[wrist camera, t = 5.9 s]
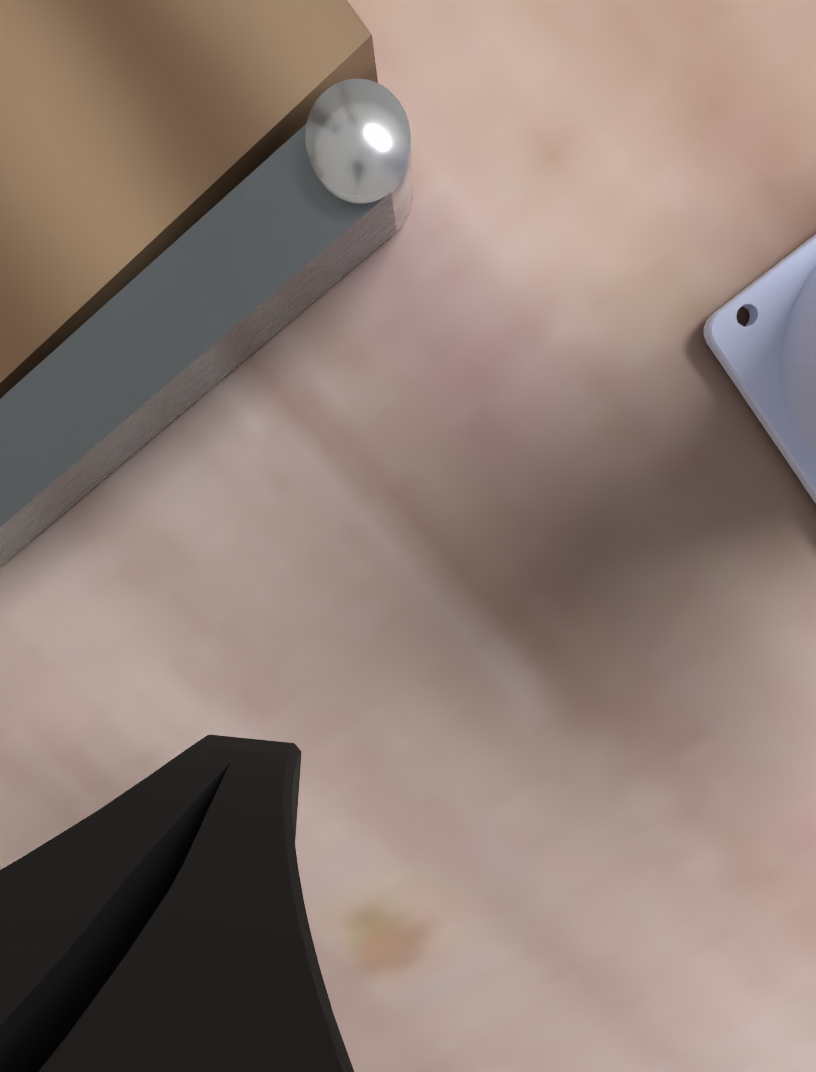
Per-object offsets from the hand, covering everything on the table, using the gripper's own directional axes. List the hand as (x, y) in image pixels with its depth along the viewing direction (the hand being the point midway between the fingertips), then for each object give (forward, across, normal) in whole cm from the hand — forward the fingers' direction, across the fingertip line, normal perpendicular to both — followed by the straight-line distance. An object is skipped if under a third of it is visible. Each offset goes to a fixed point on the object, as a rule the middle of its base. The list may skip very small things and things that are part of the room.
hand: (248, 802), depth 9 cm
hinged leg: (+9, +5, -6) cm, 12 cm away
